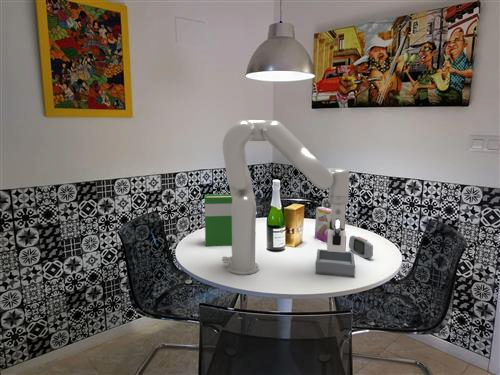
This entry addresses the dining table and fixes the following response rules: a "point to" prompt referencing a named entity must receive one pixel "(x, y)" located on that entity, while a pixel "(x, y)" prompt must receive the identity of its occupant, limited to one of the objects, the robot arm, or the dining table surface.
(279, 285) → the dining table surface
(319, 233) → the candy bar box
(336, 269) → the walled bin
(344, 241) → the medicine bottle
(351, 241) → the handheld gaming console
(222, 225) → the hardback book
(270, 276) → the dining table surface
